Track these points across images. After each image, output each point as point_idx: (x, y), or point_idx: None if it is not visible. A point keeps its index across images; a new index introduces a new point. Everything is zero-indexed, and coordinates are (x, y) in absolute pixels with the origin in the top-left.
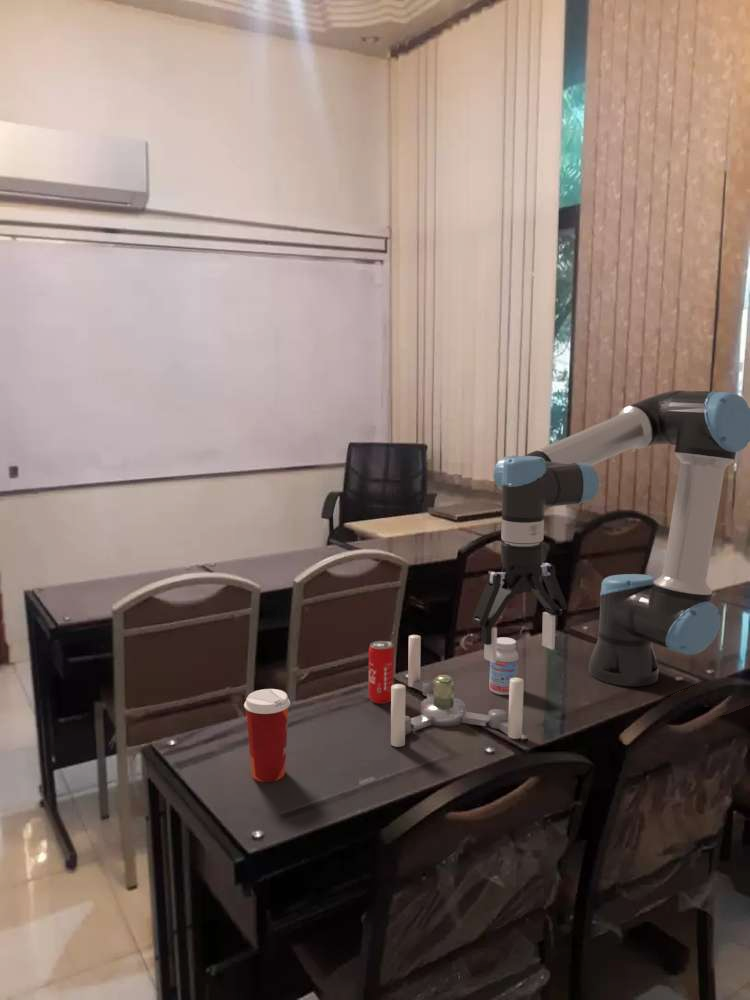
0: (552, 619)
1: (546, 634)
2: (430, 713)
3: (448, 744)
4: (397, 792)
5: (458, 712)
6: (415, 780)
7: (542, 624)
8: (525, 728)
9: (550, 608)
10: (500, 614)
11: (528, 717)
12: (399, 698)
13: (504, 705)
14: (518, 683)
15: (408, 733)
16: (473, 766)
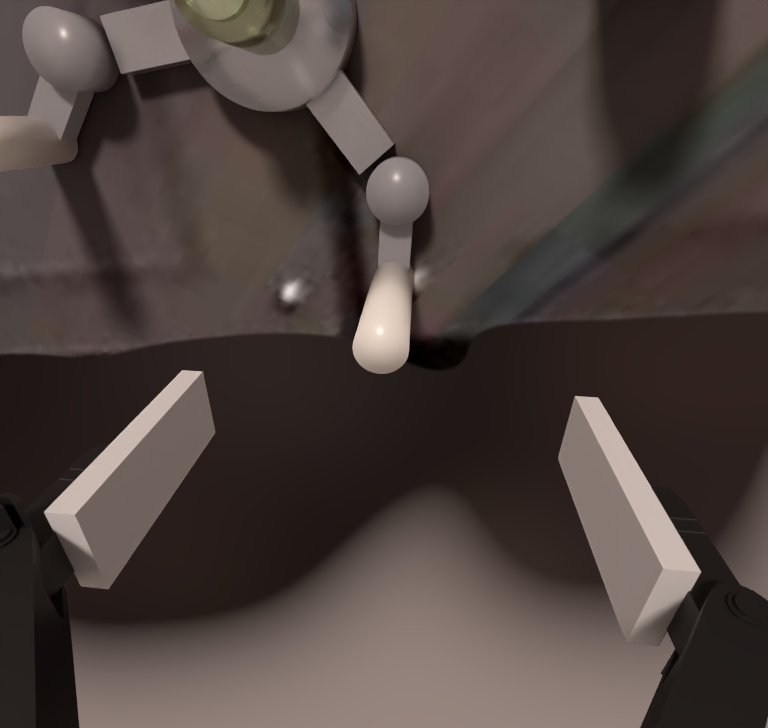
0: (617, 618)
1: (590, 475)
2: (185, 48)
3: (204, 213)
4: (19, 338)
5: (280, 108)
6: (67, 319)
7: (619, 487)
8: (459, 246)
9: (652, 701)
10: (75, 690)
11: (526, 189)
12: None
13: (536, 53)
14: (369, 369)
15: (105, 90)
16: (215, 334)
